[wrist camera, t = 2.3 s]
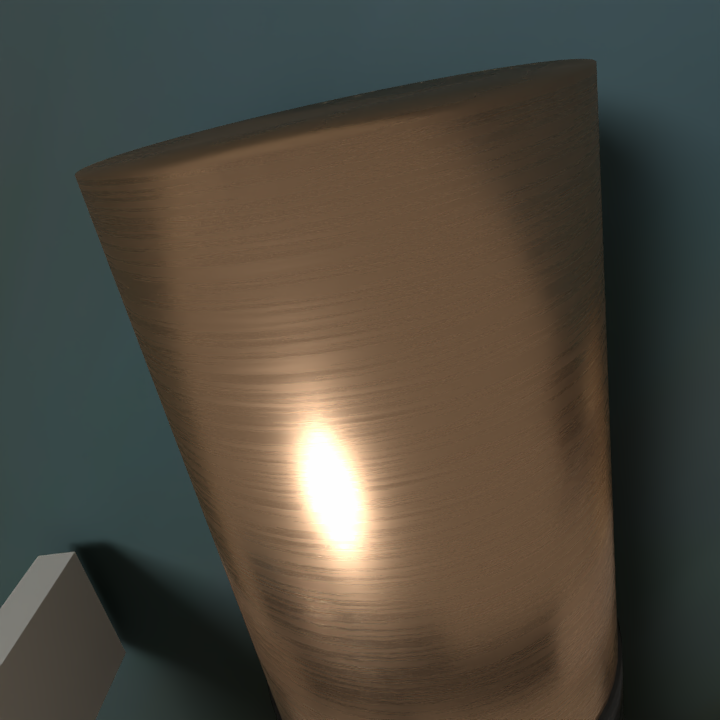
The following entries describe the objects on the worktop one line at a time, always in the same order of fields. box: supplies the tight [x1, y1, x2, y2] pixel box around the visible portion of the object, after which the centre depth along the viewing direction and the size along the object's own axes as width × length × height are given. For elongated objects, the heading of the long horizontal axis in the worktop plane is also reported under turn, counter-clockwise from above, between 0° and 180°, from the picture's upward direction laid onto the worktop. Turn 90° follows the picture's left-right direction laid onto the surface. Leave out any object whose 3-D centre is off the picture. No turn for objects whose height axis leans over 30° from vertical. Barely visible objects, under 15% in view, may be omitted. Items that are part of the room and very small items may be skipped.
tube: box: [75, 59, 624, 720], centre depth 10 cm, size 16×5×5 cm, turn 11°
